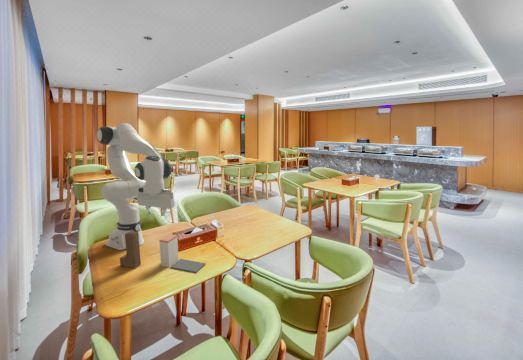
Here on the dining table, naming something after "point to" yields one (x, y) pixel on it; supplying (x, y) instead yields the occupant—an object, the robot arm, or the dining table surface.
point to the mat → (188, 265)
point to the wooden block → (131, 251)
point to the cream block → (169, 250)
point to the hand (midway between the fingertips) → (156, 215)
